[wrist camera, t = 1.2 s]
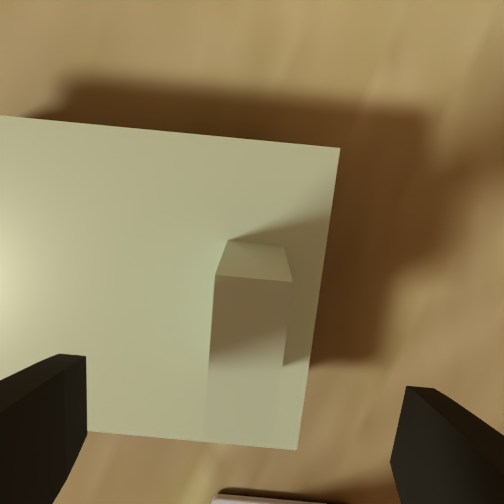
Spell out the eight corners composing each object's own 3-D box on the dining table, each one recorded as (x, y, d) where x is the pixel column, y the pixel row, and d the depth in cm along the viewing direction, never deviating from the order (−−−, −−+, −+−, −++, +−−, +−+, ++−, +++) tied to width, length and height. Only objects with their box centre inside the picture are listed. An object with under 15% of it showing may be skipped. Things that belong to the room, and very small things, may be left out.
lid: (292, 420, 18) (308, 545, 12) (-38, 390, 18) (-176, 501, 12) (330, 148, 15) (374, 146, 9) (-67, 110, 15) (-269, 85, 9)
